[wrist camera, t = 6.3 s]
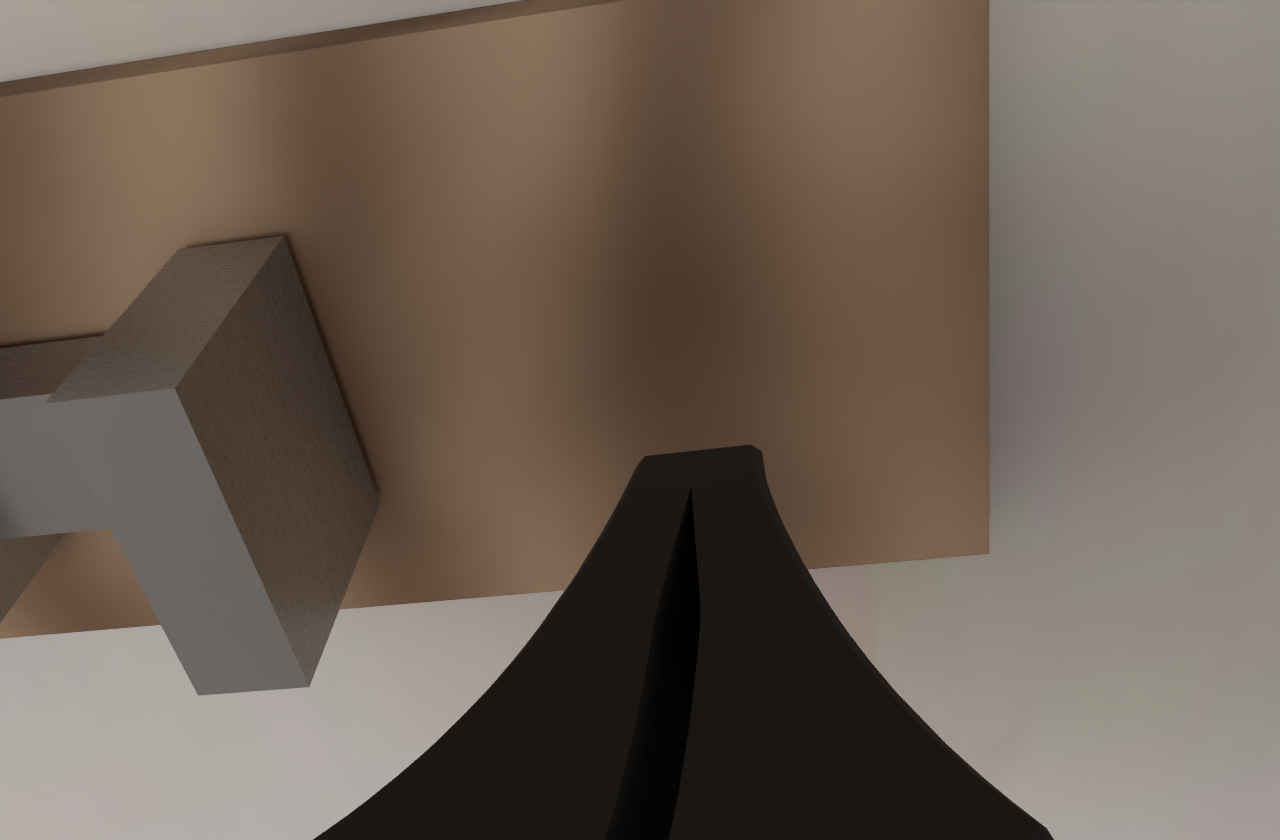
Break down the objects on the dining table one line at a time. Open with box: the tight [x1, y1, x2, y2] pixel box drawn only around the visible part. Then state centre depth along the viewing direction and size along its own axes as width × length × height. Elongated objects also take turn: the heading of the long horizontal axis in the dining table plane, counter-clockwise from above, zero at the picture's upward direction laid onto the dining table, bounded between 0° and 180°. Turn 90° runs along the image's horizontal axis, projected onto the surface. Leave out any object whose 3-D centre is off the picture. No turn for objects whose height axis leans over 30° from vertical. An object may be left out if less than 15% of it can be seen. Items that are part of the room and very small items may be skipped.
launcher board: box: [0, 0, 989, 638], centre depth 23 cm, size 23×12×1 cm, turn 99°
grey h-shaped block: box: [0, 236, 380, 695], centre depth 21 cm, size 8×6×5 cm
